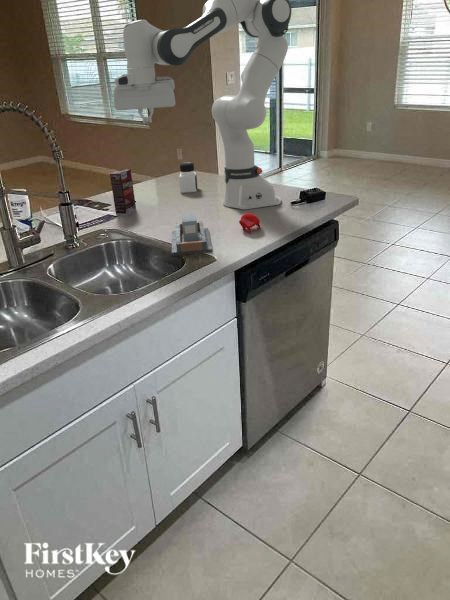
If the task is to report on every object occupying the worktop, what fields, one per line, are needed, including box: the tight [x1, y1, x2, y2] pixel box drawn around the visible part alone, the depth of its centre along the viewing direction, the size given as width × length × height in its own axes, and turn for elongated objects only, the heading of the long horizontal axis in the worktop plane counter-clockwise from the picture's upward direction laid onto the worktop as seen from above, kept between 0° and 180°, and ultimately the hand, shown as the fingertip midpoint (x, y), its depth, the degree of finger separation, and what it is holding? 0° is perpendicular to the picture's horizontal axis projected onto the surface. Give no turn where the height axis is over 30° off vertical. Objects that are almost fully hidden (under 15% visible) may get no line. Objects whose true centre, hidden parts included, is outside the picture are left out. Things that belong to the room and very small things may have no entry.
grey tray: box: [171, 220, 213, 257], centre depth 148 cm, size 12×20×4 cm, turn 5°
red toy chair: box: [238, 212, 261, 234], centre depth 155 cm, size 8×6×6 cm
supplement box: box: [109, 168, 137, 217], centre depth 179 cm, size 9×5×16 cm, turn 163°
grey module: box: [181, 213, 198, 242], centre depth 147 cm, size 4×7×7 cm, turn 5°
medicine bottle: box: [178, 161, 198, 194], centre depth 205 cm, size 7×7×12 cm
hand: (147, 122), depth 159 cm, fingers closed
